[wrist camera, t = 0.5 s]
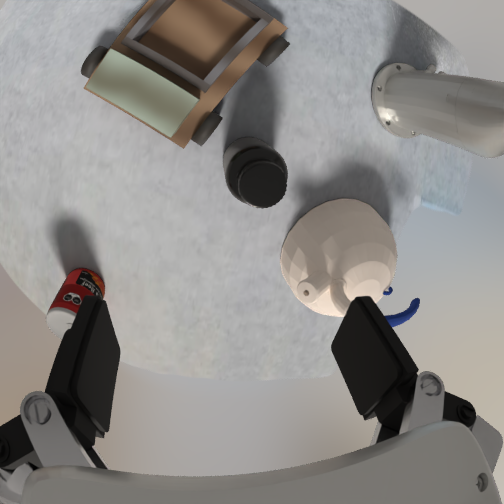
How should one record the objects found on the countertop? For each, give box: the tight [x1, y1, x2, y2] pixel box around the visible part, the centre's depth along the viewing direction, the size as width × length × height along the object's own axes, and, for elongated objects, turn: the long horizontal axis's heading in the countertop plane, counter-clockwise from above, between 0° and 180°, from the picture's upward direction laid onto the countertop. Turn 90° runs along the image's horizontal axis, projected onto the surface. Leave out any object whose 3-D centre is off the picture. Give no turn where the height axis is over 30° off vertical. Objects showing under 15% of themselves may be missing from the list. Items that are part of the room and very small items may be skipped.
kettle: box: [280, 198, 420, 327], centre depth 38 cm, size 20×21×18 cm
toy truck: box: [81, 0, 290, 149], centre depth 23 cm, size 20×19×7 cm
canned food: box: [46, 268, 105, 339], centre depth 37 cm, size 8×8×11 cm
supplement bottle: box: [223, 137, 288, 208], centre depth 30 cm, size 7×7×12 cm
